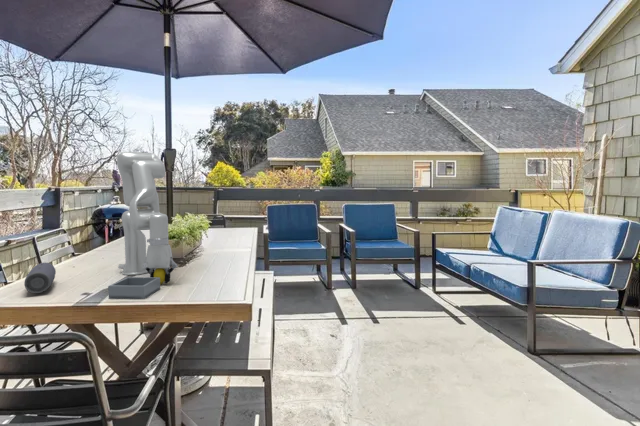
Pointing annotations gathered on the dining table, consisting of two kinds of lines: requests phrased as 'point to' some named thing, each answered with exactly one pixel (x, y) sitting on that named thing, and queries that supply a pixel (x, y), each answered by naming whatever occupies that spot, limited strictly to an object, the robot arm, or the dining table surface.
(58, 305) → the dining table surface
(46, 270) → the bluetooth speaker
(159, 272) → the lemon
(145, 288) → the grey shallow tray
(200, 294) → the dining table surface
